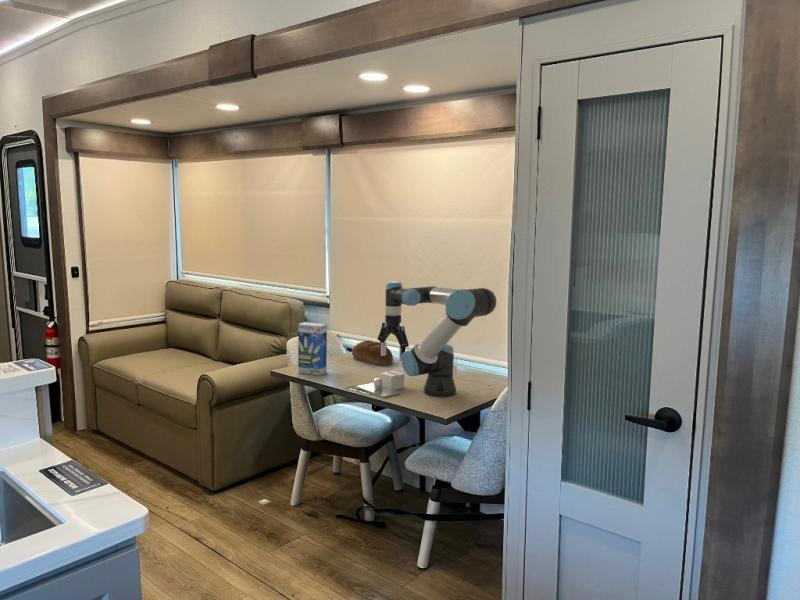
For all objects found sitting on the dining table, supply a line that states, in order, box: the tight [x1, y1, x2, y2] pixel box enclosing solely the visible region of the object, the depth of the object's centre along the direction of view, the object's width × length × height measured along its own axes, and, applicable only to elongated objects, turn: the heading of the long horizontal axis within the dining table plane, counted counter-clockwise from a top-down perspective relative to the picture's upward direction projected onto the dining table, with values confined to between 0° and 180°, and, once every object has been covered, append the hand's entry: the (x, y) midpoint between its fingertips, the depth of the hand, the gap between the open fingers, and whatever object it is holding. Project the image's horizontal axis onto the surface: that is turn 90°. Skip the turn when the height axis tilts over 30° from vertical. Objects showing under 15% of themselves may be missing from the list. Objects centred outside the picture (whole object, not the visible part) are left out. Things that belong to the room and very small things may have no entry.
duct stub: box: [356, 377, 401, 399], centre depth 281 cm, size 20×10×6 cm, turn 41°
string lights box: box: [297, 321, 328, 376], centre depth 311 cm, size 13×8×26 cm, turn 69°
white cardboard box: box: [380, 370, 405, 391], centre depth 288 cm, size 8×8×7 cm
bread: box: [351, 340, 394, 366], centre depth 340 cm, size 16×29×11 cm, turn 43°
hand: (392, 358), depth 287 cm, fingers open, 13 cm apart
